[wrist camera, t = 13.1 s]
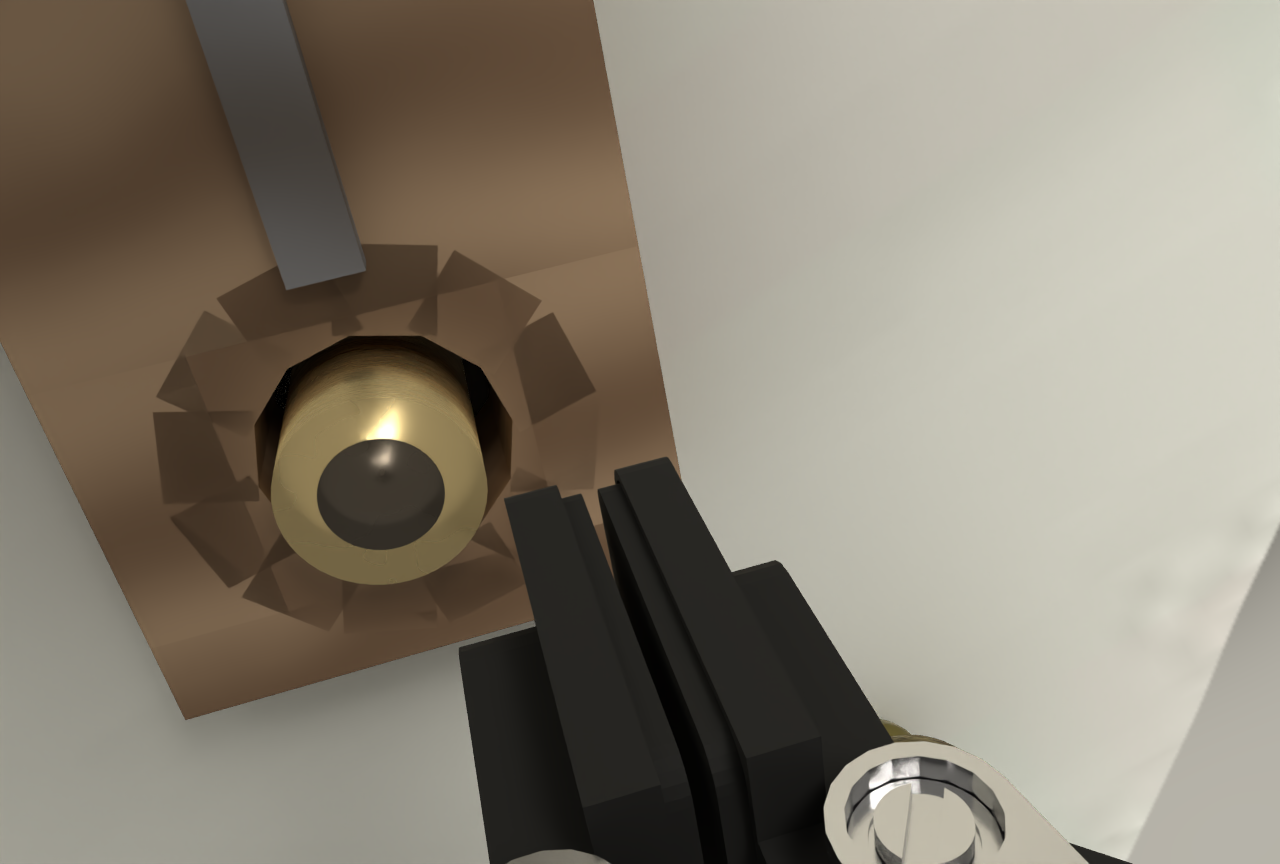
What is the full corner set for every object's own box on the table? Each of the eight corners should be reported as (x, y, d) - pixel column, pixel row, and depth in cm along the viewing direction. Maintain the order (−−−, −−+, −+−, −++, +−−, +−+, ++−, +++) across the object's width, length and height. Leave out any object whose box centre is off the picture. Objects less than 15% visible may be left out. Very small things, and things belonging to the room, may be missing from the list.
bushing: (269, 316, 27) (239, 431, 21) (438, 274, 28) (457, 374, 22) (323, 464, 29) (310, 609, 23) (480, 423, 30) (509, 553, 24)
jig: (-101, -95, 22) (-241, -102, 17) (514, -210, 24) (555, -248, 19) (211, 604, 30) (180, 742, 25) (652, 483, 32) (707, 589, 27)
